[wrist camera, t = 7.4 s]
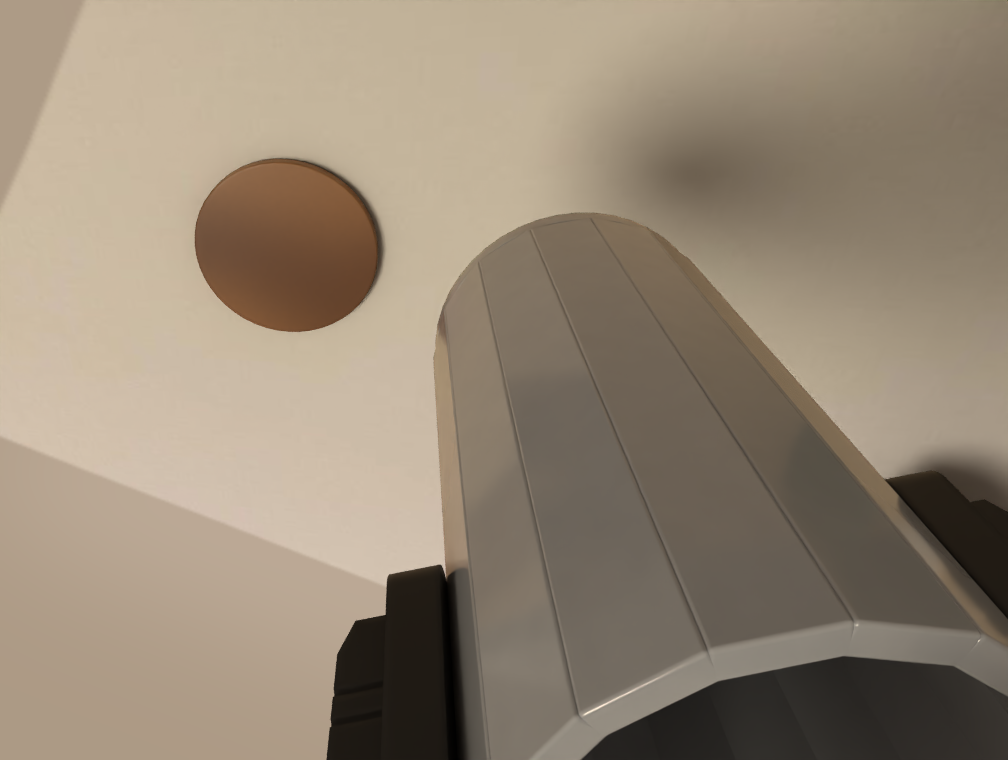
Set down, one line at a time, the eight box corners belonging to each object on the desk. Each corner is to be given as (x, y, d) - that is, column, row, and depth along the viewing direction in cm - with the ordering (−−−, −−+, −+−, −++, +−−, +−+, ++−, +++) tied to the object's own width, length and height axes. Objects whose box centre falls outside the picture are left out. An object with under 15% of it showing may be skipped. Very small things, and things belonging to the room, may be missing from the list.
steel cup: (407, 242, 16) (406, 711, 6) (703, 185, 16) (1154, 562, 6) (463, 481, 19) (521, 1047, 9) (711, 433, 19) (1026, 944, 9)
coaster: (171, 175, 31) (167, 179, 30) (355, 144, 31) (354, 147, 30) (229, 339, 34) (227, 345, 34) (394, 311, 34) (394, 316, 34)
